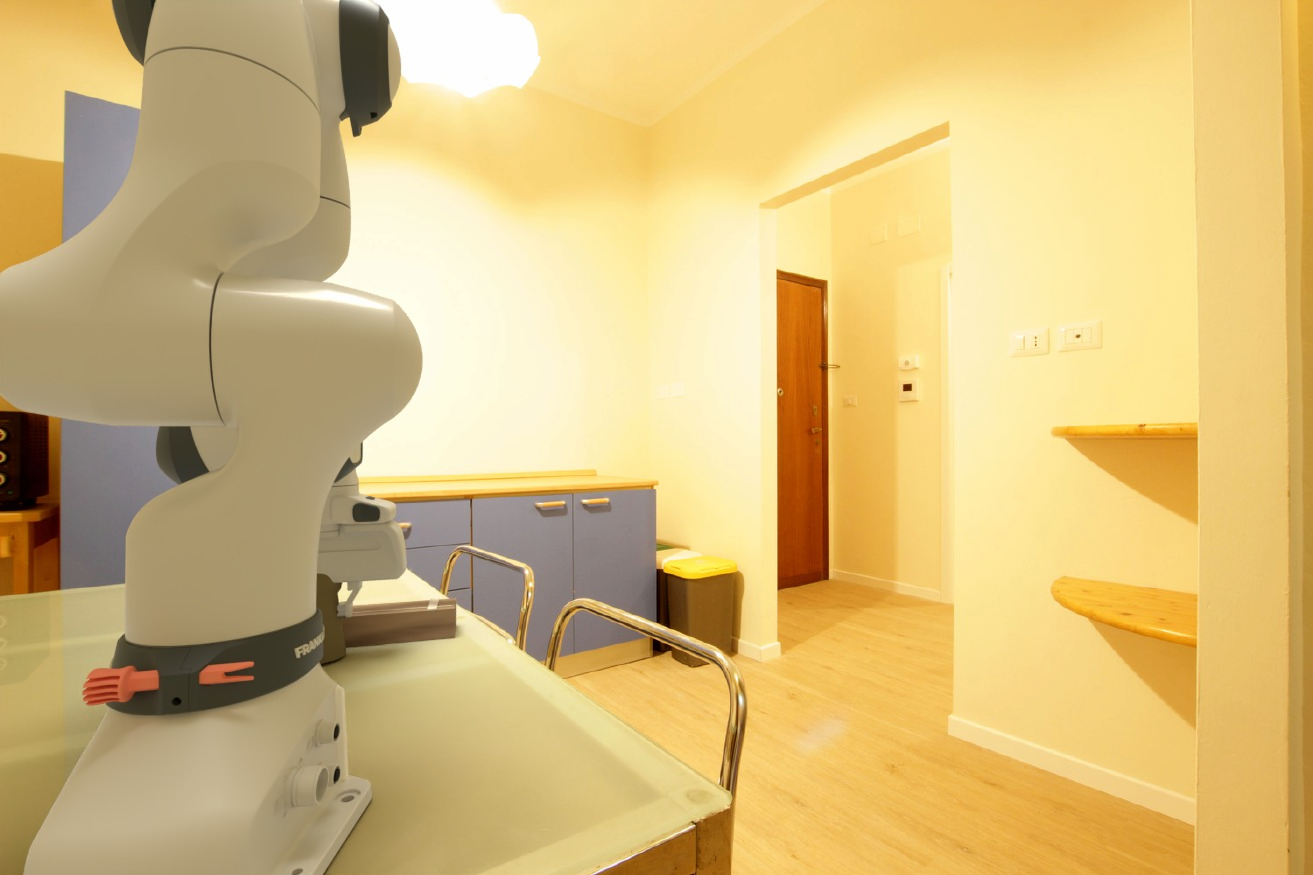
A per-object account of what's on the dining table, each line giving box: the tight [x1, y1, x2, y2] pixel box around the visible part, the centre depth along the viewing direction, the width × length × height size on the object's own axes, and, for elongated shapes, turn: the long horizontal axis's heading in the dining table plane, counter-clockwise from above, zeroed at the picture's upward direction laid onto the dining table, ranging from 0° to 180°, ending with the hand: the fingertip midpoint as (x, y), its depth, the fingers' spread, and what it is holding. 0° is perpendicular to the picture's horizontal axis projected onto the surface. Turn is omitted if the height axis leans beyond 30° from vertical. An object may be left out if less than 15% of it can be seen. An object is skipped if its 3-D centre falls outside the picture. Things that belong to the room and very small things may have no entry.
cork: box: [316, 573, 347, 664], centre depth 76 cm, size 6×6×11 cm
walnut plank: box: [341, 597, 457, 648], centre depth 84 cm, size 6×20×4 cm, turn 106°
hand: (319, 618), depth 76 cm, fingers closed on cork, 4 cm apart
